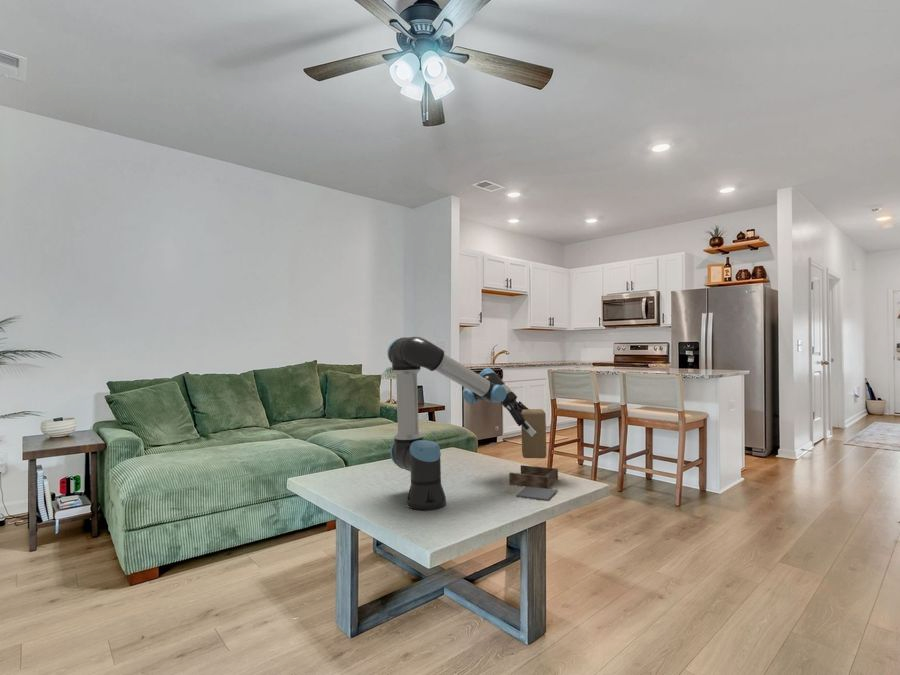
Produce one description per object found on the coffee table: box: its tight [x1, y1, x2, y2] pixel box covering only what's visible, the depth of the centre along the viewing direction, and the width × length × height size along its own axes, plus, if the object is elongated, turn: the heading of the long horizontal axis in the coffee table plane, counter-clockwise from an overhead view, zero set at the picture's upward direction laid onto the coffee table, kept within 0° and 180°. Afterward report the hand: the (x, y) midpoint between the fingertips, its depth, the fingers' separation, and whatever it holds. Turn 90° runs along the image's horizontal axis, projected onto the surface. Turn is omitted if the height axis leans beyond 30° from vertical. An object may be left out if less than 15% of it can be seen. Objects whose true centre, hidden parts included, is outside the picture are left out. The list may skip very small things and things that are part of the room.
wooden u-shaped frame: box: [508, 464, 559, 489], centre depth 208 cm, size 17×15×5 cm
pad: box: [515, 486, 558, 502], centre depth 191 cm, size 13×13×1 cm
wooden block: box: [520, 408, 547, 459], centre depth 208 cm, size 10×10×20 cm
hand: (538, 432), depth 207 cm, fingers closed on wooden block, 12 cm apart
